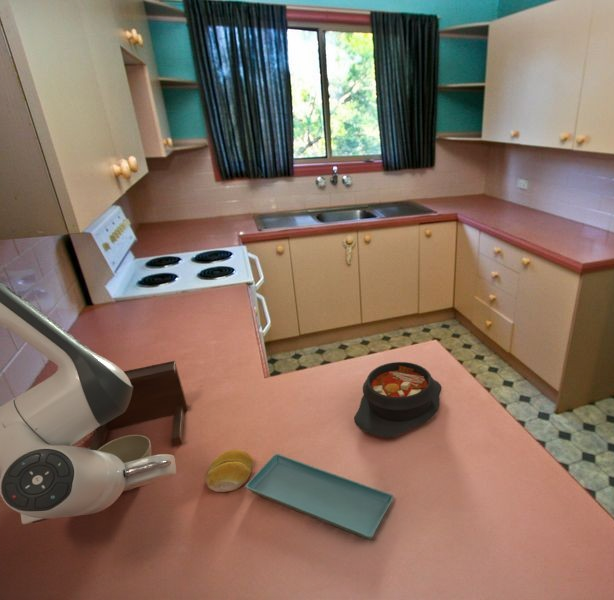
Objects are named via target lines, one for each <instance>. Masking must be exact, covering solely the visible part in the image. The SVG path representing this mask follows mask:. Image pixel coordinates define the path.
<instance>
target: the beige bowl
mask: <svg viewBox="0 0 614 600" xmlns="http://www.w3.org/2000/svg"><path fill="white" fill-rule="evenodd" d="M97 451H101V452H106V453H110V454H113V455H115V456H117V457H118V458H119V459H120V460H121V461H122V462H123V463H127V462H130V461H134V460H138V459H141V458H145V457H149V456H152V443H151V440H150V438H148V437H147V436H145V435H142V434H128V435H124V436H120V437H117V438H115V439H113V440H111V441H110V440H109V442H107V443H105V444H104V445H103V446H102V447H100V448H99V449H98V450H97ZM133 489H134V488H132V489H129V490H125V491H124V492H128V491H130V490H133Z"/></svg>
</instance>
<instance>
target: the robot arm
mask: <svg viewBox="0 0 614 600" xmlns="http://www.w3.org/2000/svg"><path fill="white" fill-rule="evenodd" d="M0 328H4V329H6V330H8V331H10V332H11V333H13V334H14V335H15V336H17V337H18V338H19V339H21V340H23V341H24V342H25V343H27V344H28V345H29V346H31V347H32V348H33V349H35V351H37V352H39V353H40V354H41V355H42V356H44V357H46V358H47V359H49V361H51V362H52V363H54V364H55V365H56V367H57V368H56V369H57V370H56V371H55V372H54V373H53V374H52V375H50V376H49V377H47V378H46V379H44V380H42V381H41V382H39V383H38V384H36V385H34V386H33V387H31V388H30V389H27V390H26V391H24V392H23V393H22V394H20V395H18V396H17V397H14V398H12V399H11V400H9V401H7V402H5V403H4V404H2V405H1V406H0V497H1V499H2V501H3V502H4V503H5V504H6V505H7V507H9V508H10V509H11V510H13V511H15V512H17V513H18V514H20V520H21V525H30V524H34V523H39V522H43V521H48V520H52V519H60V518H61V519H62V518H68V517H70V518H71V517H77V516H87V515H94V514H97V513H99V512H102V511H105V510H106V509H107V508H109V507H111V505H113V504H114V503H115V502H116V501H117V500H118V499H119V497H120V496H121V495H122V493H123V492H126V491H125V490H128V491H130V490H129V489H131V490H133V489H135V488H138V487H142V486H146V485H149V484H153V483H156V482H159V481H163V480H166V479H169V478H172V477H174V476H176V474H177V463H176V459H175V456H174V455H173V454H169V453H168V454H167V453H160V454H153V455H151V456H149V457H145V458H141V459H138V460H134V461H130V462H127V463H123V462H122V461H121V460H120V459H119V458H118V457H117V456H115V455H113V454H110V453H106V452H101V451H96V450H90V448H88V447H83V446H76V445H75V444H76V443H78V442H79V441H82V439H84V438H85V437H86V436H88V435H89V434H91V433H92V432H94V431H96V430H95V429H96V428H98V427H99V426H102V425H104V424H106V423H107V422H109V421H111V420H112V419H114V418H116V417H117V416H119V415H121V414H123V413H124V412H125V411H126V409H127V407H128V405H129V402H130V400H131V396H132V391H133V386H132V385H131V382H130V380H129V378H128V377H127V375H126V374H125V373H124V372H123V370H122V368H120V367H119V366H118V365H116V364H115V363H113V361H111V360H109V359H107V358H105V357H104V356H101V355H99V354H98V353H96V352H94V351H93V350H92V349H90V348H89V347H88V346H86V345H85V344H83V342H81V341H80V340H78V338H76V337H74V336H73V335H72V334H71V333H70V332H68V331H67V330H65V328H63V327H62V326H61V325H59V324H58V323H56V322H55V321H54V320H53V319H52V318H50V317H49V316H48V315H46V314H45V313H44V312H43V311H41V310H40V309H39V308H37V307H36V306H35V305H33V304H32V303H31V302H29V301H28V300H26V299H25V298H24V297H23V296H21V295H20V294H19V293H17V292H16V291H14V290H13V289H12V288H10V287H9V286H7V285H6V284H4V283H2V282H1V281H0ZM132 488H133V489H132Z"/></svg>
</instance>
